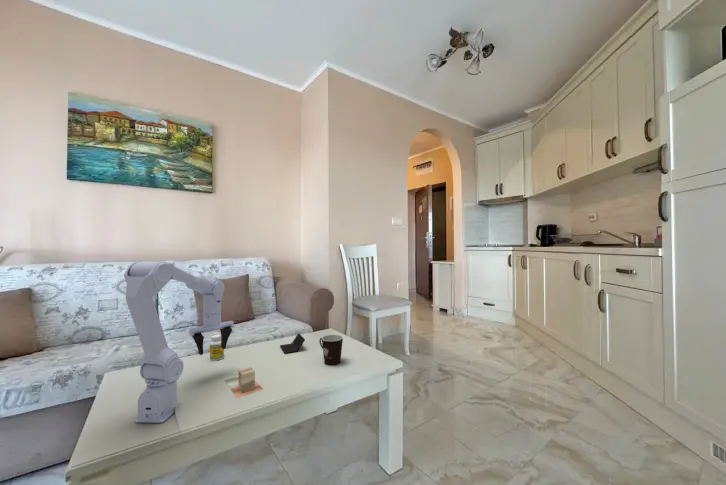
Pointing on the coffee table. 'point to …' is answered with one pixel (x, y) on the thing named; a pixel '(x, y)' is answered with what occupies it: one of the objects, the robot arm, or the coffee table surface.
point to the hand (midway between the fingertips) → (212, 351)
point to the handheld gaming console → (293, 345)
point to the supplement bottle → (216, 348)
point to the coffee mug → (332, 349)
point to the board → (234, 381)
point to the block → (246, 379)
